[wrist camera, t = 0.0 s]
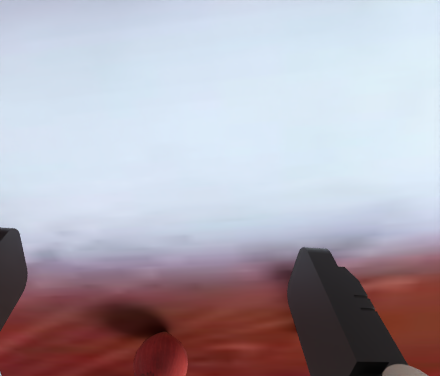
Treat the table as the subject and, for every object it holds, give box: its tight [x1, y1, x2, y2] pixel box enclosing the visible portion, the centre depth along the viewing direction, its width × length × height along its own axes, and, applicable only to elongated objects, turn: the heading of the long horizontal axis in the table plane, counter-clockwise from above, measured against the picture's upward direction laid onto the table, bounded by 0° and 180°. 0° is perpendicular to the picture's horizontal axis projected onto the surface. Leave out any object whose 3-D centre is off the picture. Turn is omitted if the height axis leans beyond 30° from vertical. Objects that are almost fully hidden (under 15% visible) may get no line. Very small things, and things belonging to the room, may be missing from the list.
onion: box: [134, 332, 188, 376], centre depth 36 cm, size 6×6×8 cm
